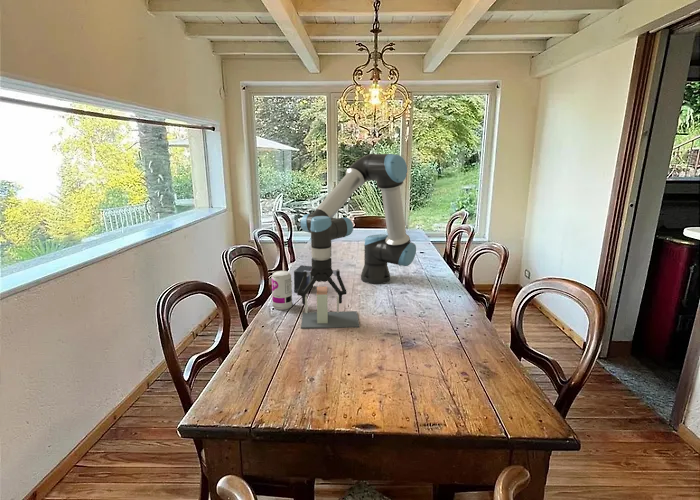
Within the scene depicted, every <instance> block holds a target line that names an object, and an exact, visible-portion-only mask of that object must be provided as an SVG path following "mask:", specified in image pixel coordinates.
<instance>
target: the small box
mask: <svg viewBox="0 0 700 500" xmlns="http://www.w3.org/2000/svg"><path fill="white" fill-rule="evenodd" d="M311 269H312V265H302V264H300V265H299V266H298V267H297V268H295V270H294V271H293V293H297V292H298V289H299V287H300V284H301V281H302V279H303V273H304V270H307V271H311ZM312 278H313V276H312V275H311V274H309V276H308V277H307V278H306V281H305V284H304V286H303V289H302V292H303V291H304V290H305V288H306V287H307V286H308V284H309V283H310V281H311V280H312ZM313 286H314V285H313ZM313 286H312V287H311V288H310V290H311V289H312V288H313Z"/></svg>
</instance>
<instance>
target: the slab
mask: <svg viewBox="0 0 700 500" xmlns="http://www.w3.org/2000/svg"><path fill="white" fill-rule="evenodd" d="M328 307H329V306H328V286H316V312H317V323H328V312H329V310H328Z"/></svg>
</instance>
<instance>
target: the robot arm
mask: <svg viewBox="0 0 700 500" xmlns="http://www.w3.org/2000/svg"><path fill="white" fill-rule="evenodd" d="M407 173H408V166H407V162H406V160H405V158H404V157H402V155H400V154H393V153H369V154H366V155H363V156H361V157H360V158H358V159H357V160H355V161H354V162H353V163H352V164H351V165H350V166H349V167H348V168H347V170H346V171H345V175H344V176H343V177H342V179H340V181H339V182H338V183H337V184H336V185H335V187H334V188H333V189H332V191H330V193H328V195H327V196H326V197H325V198H324V199H323V200H322V201H321V203H320V204H319V205H318V206H317V207H316V209H314V211H313V212H312V213H307V214H304V215H303V216H302V217H301V218H300V227H301V229H302V231H304V232H306V233H309V234H310V244H311V245H310V246H311V248H310V249H311V251H310V253H311V266H312V269H311V271H307V270H304V273H303V279H302V281H301V284H300V287H299V289H298V292H296V294H297V296H301V304H302V305H305V306H304V309H305V310H304V311H305V313H307V312H309V311H308V310H309V309H308V304H309V303H308V293H309V291H310V290H311V289H312V288H313V287H312V286H314V285H315V283H316V282H318V283H321V282H323V283H326V282H327V283H329V285H330V286H331V287H332V289H333V290H334V291H335V292H336V312H340V304H342V303H343V295H347V292H348V291H347V289H346V287H345V283H344V282H343V280H342V277H341V274H340V273H341V271H340V268H339V269H338V268H337V269H336V270H333V268H332V258H331V257H332V241H333V240H337V239H342V238H346V237H348V236H350V235H351V234H352V233H353V231H354V223H353V221H352V220H351V219H350V218H348V217H342V216H341V217H339V218H336V217H334V216H335V215H337V213H338V212H339V211H340V209H341V208H342V207H343V205H344V204H346V202H347V201H348V200H349V198H350V197H352V195H353V194H354V192H355V191H356V190H357V189H358V187H360V186H361V187H362V186H364V184H365V183H366V182H370V181H375V182H376V186H377V188H378V189H379V190H380V192H381V197H382V204H383V212H384V219H385V224H386V232H387V233H386V234H385V233H384V234H383V233H380V234H372V235H369V236H366V237H365V239H364V244H363V246H364V261H363V262H364V265H363V268H362V271H361V273H360V280H361V281H362V282H364V283H367V284H371V285H372V284H374V285H379V284H380V285H381V284H387V283H388V282H390V281H391V273H390V271H389V266H388V264H392V265H398V266H401V267H409V266H410V265H411V264H412V263H413V261H414V259H415V257H416V255H417V246H416V244H415V243H414V242H411V238H410V235H409V234H407V232H406V224H405V216H404V215H405V214H404V207H403V198H402V192H401V190H402V189H401V187H402V186H403V184H404V181H405V180H406V179H407V176H408V175H407ZM309 274H311V275H312V276H313V278H312V280H311V281H310V283H309V284H308V286H307V287H306V288H305V290H304V291H303V292H302V289H303V286H304V284H305V281H306V278H307V277H308V276H309ZM332 275H334V276H335V277H336V279H337V281H338V284H339V286H340V288H341V289H340V288H339V286H338V285H337V284H336V282H335V281H334V280H333V279H332ZM311 287H312V288H311ZM310 288H311V289H310Z"/></svg>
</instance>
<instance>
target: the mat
mask: <svg viewBox="0 0 700 500" xmlns="http://www.w3.org/2000/svg"><path fill="white" fill-rule="evenodd" d="M358 316H359V315H358V312H357V310H351V311H350V310H349V311H345V310H344V311H342V310H340V311H339V312H337V311H328V323H317V311H308V312H307V313H305V312H304V311H303V312H302V316H301V324H300V329H301V330H302V329H307V330H309V329H343V328H346V329H347V328H349V329H350V328H360V322H359V317H358Z"/></svg>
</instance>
